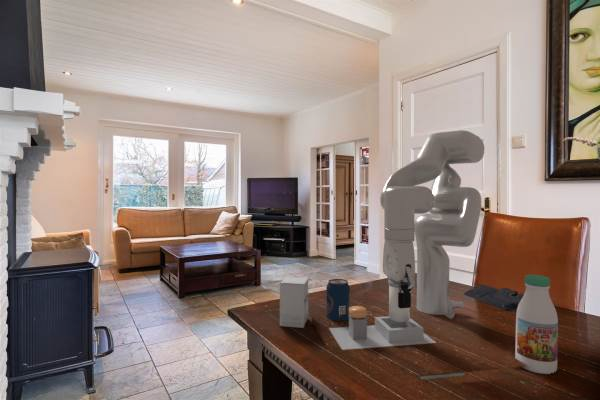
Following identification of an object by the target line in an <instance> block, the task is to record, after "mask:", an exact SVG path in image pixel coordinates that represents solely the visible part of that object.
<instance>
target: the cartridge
mask: <svg viewBox="0 0 600 400" xmlns="http://www.w3.org/2000/svg"><path fill="white" fill-rule="evenodd" d="M403 280H407V278H403ZM405 284H407V282H404V283H403V286H404V285H405ZM388 286H389V299H388V316H389V318H390V319H391V320H393V321H397V322H406V321H409V320H410V318H411V316H410V310H411V309H410V308H411V307H410V308H399V307H398V292H400V290H399V282H396V281H394V280H393V279H391V278H390V279H389V285H388Z"/></svg>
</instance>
